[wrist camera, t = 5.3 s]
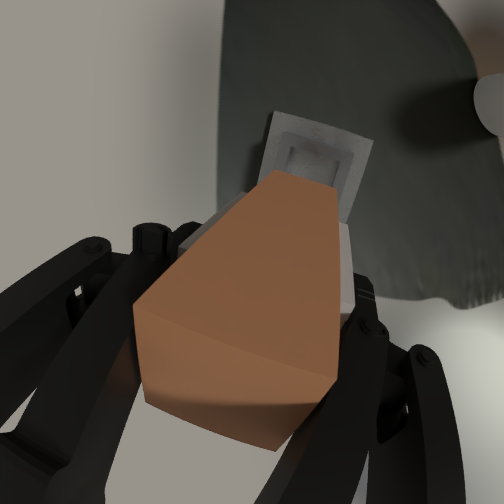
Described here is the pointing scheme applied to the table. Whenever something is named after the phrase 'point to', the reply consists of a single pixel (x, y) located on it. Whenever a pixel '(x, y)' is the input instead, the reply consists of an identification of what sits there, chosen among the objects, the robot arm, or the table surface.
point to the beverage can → (491, 102)
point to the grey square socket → (317, 155)
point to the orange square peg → (249, 316)
